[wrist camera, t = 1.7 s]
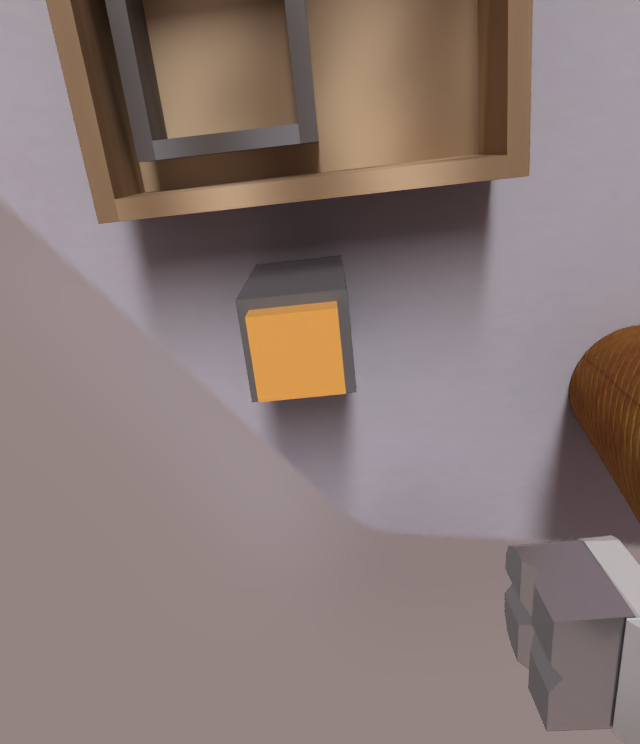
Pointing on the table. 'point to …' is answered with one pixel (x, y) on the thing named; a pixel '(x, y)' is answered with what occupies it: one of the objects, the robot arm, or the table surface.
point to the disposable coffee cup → (612, 407)
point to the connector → (297, 330)
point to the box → (291, 98)
